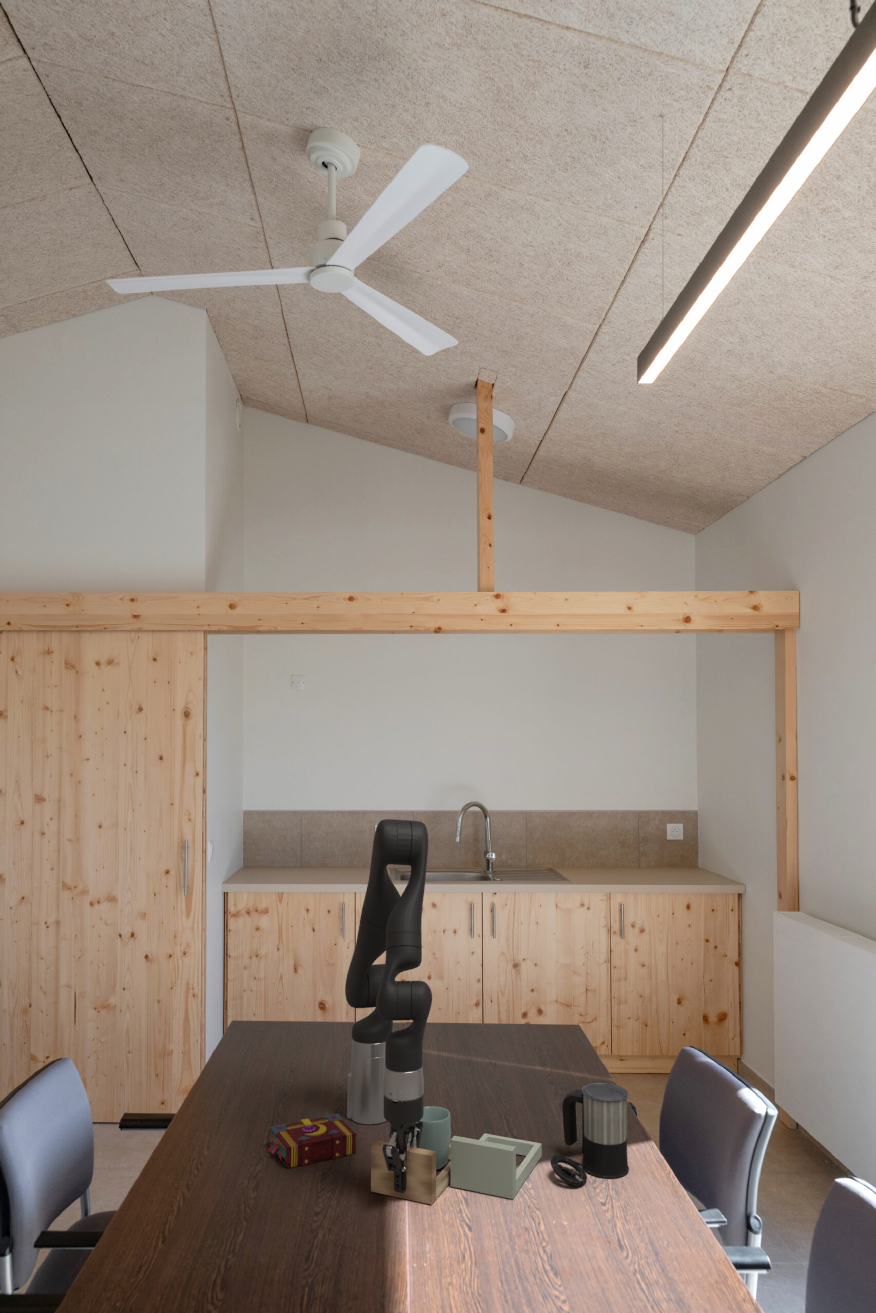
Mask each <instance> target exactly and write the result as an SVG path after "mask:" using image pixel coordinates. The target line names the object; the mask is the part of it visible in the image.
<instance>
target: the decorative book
mask: <svg viewBox="0 0 876 1313" xmlns="http://www.w3.org/2000/svg"><path fill="white" fill-rule="evenodd" d="M269 1127H270V1128H269V1130H270V1132H271V1133H272V1134H273V1135H272V1136H273V1137H272V1138H273V1139H272V1143H269V1148H268V1149H267V1152H268V1153H269V1154H270V1153H271V1154H272V1155H276V1156H277V1157H278V1159H279V1160H280V1161H281V1163H282V1164H283V1165H284V1167H285V1168H286V1169H290V1168H294V1167H295V1168H296V1167H299V1166H301V1167H306V1166H307V1167H308V1166H312V1164H314V1163H317V1162H321V1161H326V1160H329V1159H332V1161H335V1160H338V1159H343V1157H345V1156H350V1155H355V1154H356V1153H357V1152H356V1151H357V1149H356V1147H357V1146H356V1145H357V1143H356V1141H357V1133H356V1132H355V1131H354V1130H353V1129H352V1128H351V1127H350V1125H348V1124H347V1123H346V1122H345V1121H344V1119H343V1117H342V1116H341V1115H340V1114H339V1113H333V1114H329V1115H323V1116H320V1118H314V1119H309V1118H303V1119H300V1121H298V1122H293V1123H282V1124H277V1125H272V1126H269Z"/></svg>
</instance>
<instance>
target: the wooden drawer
mask: <svg viewBox="0 0 876 1313" xmlns="http://www.w3.org/2000/svg"><path fill="white" fill-rule="evenodd" d="M384 1144H385V1145H388V1144H389V1141H383V1140H377V1139H375V1140H374V1141H373V1142H372V1143H371V1147H370V1148H371V1149H370V1150H371V1152H370V1156H371V1159H370V1192H372V1193H376V1194H380V1195H385V1196H391V1197H394V1198H400V1199H406V1200H408V1201H412V1202H413V1201H414V1202H418V1203H423V1204H428V1205H433V1204H434V1203H435V1202H436V1200H437V1199H438V1198H439V1196H440V1195H441V1194H442V1193H443V1192H444V1191H445V1189H446V1188H448V1186H449V1185H450V1184H451V1143H450V1151H449V1156H448V1159H447V1160H449V1162H448V1164H447V1165H446V1166H445V1167H444V1168H443V1169H442V1170H441V1172H440V1173H439V1174H438V1175H437V1170H436V1151H431V1150H426V1149H421V1148H415V1147H410V1152H409V1157H408V1158H407V1165H406V1191H405V1192H404V1193H400V1192H396V1191H395V1190H394V1171H388V1169H387V1165H386V1161H385V1158H384V1154H383V1151H382V1148H383V1145H384ZM400 1152H403V1151H400ZM400 1160H401V1164H402V1159H401V1158H400Z"/></svg>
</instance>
